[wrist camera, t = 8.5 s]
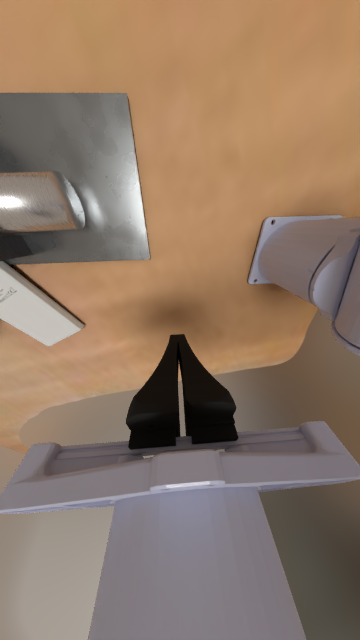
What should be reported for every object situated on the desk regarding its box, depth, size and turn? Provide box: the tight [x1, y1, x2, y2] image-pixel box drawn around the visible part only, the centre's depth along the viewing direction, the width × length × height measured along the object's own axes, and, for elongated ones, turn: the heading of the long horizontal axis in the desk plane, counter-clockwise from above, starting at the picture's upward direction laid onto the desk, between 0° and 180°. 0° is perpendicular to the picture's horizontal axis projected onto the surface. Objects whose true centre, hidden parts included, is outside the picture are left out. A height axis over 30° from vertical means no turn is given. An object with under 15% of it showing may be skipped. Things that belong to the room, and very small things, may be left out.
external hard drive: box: [0, 261, 84, 347], centre depth 20 cm, size 2×8×12 cm
